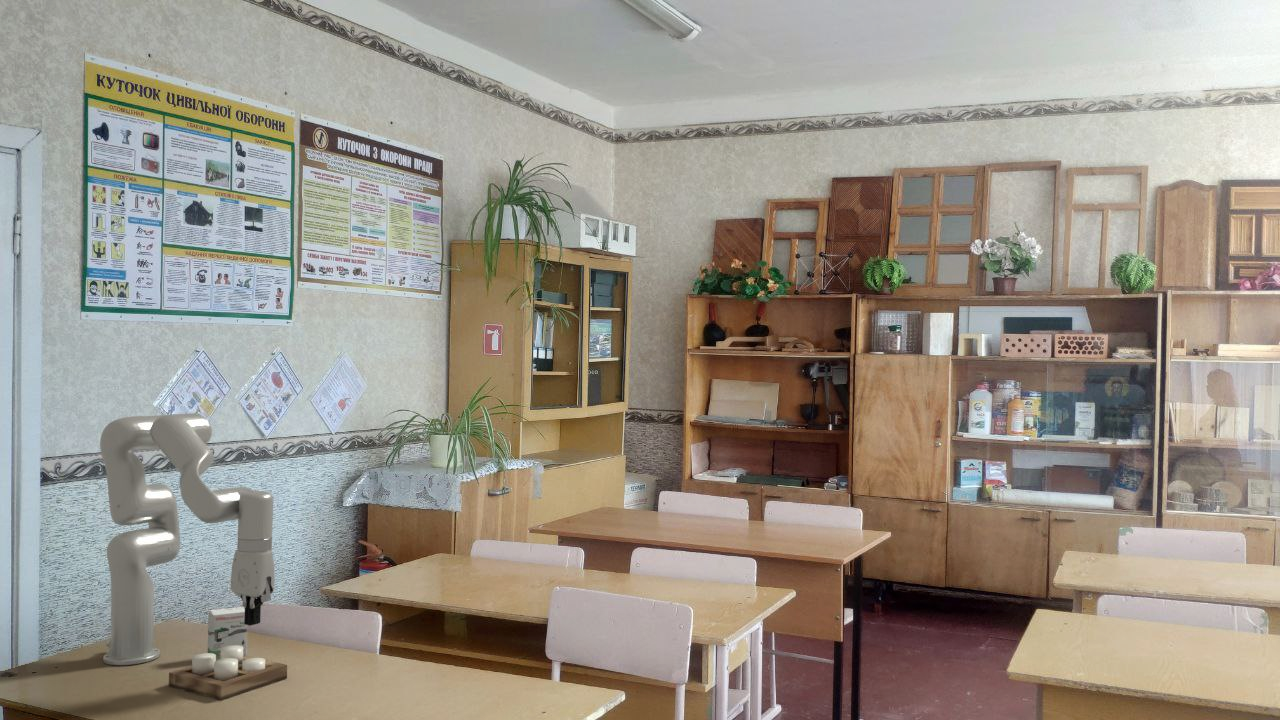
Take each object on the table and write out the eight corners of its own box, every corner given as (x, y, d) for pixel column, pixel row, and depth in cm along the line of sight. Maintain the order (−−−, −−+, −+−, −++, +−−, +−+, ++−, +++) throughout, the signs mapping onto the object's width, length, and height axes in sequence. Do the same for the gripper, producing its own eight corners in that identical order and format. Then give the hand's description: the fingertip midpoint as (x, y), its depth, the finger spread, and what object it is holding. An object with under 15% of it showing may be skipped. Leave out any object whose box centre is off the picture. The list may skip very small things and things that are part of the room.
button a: (187, 672, 232) (187, 657, 232) (206, 667, 236) (206, 652, 236) (201, 676, 230) (201, 660, 230) (220, 670, 234) (220, 655, 234)
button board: (168, 686, 231) (168, 672, 231) (235, 666, 247) (235, 653, 247) (221, 700, 222) (221, 685, 222) (287, 678, 238) (287, 664, 238)
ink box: (211, 662, 250) (211, 614, 250) (207, 657, 254) (207, 610, 254) (247, 657, 254) (248, 610, 254) (243, 652, 259) (243, 606, 259)
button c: (209, 678, 228) (209, 662, 228) (227, 672, 233) (228, 657, 233) (223, 681, 226) (224, 666, 226) (242, 675, 230) (242, 660, 230)
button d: (237, 677, 235) (237, 662, 235) (255, 671, 239) (255, 656, 239) (252, 680, 232) (252, 665, 232) (269, 674, 237) (269, 659, 237)
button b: (215, 664, 239) (215, 649, 239) (233, 658, 243) (233, 644, 243) (229, 667, 236) (230, 652, 236) (247, 662, 241) (247, 647, 241)
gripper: (219, 543, 236) (217, 622, 237) (263, 551, 229) (260, 633, 229) (246, 538, 243) (244, 615, 243) (290, 546, 236) (287, 625, 236)
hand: (252, 623), depth 236 cm, fingers closed
